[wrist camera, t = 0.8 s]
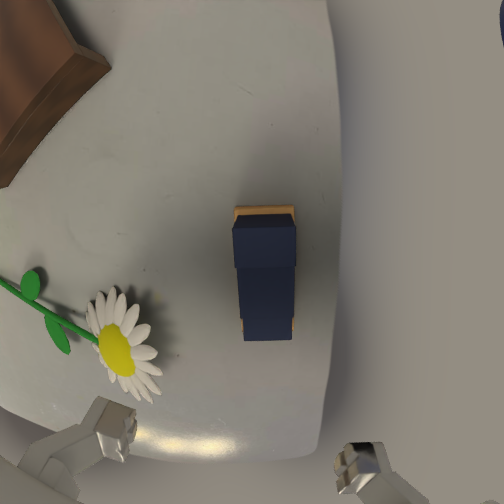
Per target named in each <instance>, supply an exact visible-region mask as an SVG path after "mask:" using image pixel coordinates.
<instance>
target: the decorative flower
mask: <svg viewBox="0 0 504 504" xmlns="http://www.w3.org/2000/svg"><path fill="white" fill-rule="evenodd" d="M0 285H2V286H3V287H4V288H6V289H7V290H9V291H10V292H11V293H13V294H14V295H16V296H17V297H19V298H20V299H22V300H23V301H25V302H26V303H28V304H29V305H31V306H32V307H34V308H35V309H37V310H38V311H40V312H42V313H43V314H45V317H44V318H45V324H46V328H47V330H48V332H49V334H50V336H51V338H52V340H53V341H54V343H55V344H56V346H57V347H58V348H59V349H60V350H61V351H62V352H63V353H65V354H68V355H69V353H70V351H71V350H70V345H69V341H68V339H67V337H66V334H65V332H64V331H63V329H62V327H61V326H60V324H61V325H63V326H65V327H67V328H68V329H70V330H72V331H74V332H75V333H77V334H79V335H81V336H83V337H85V338H86V339H88V340H90V341H92V346H93V348H94V349H95V350H96V351H97V352H98V353H99V358H100V361H101V363H102V364H103V365H104V366H105V367H108V375H109V379H110V381H111V382H113V383H114V382H115V380H116V375H117V378H118V381H119V383H120V386H121V387H122V389H123V391H124V392H126V393H128V388H129V390H130V392H131V393H132V394H133V396H134V397H135V398H136V399H137V400H139V401H140V400H141V398H140V395H139V392H140V393H141V395H142V396H143V397H144V398H145V399H146V400H147V401H148V402H150V403H152V404H153V399H152V397H151V394H150V392H149V390H148V389H147V387H148V388H149V389H150V390H151V391H152V392H154V393H156V394H157V395H162V393H161V390H160V388H159V387H158V385H157V384H156V382H155V381H154V380H153V379H152V377H151V376H150V375H149V374H152V375H155V376H161V375H163V373H162V371H161V370H160V369H159V368H158V367H156V366H155V365H154V364H152V363H151V362H149V361H147V360H151V359H153V358H155V357H156V356H157V354H158V352H157V351H156V350H155V349H154V348H153V347H151V346H149V345H144V344H140V343H142V342H143V341H144V340H145V339H146V338H147V337H148V335H149V333H150V331H151V326H149V325H148V324H140V325H138V326H136V327H134V326H135V324H136V322H137V320H138V317H139V310H140V308H139V304H134V305H133V306H132V307H131V308H130V309H128V311H127V303H126V297H125V295H124V293H122V294H120V295H119V297H118V299H117V295H116V289H115V287H114V286H113V287H112V288H111V289H110V291H109V294H108V296H107V301H106V299H105V297H104V295H103V293H102V292H100V291H99V292H98V294H97V297H96V302H95V303H96V311H95V308H94V306H93V304H92V303H91V302H88V312H87V311H86V312H85V313H86V319H87V322H88V325H89V332H88V331H86V330H84V329H82V328H80V327H78V326H76V325H75V324H73V323H71V322H69V321H67V320H66V319H64V318H62V317H60V316H59V315H57V314H55V313H54V312H52V311H50V310H48V309H47V308H45V307H43V306H42V305H40V304H39V303H37V302H35V301H34V300H35V299H37V297H38V294H39V292H40V280H39V277H38V274H36V273H35V272H34V271H28V272H26V273H25V274H24V275H23V277H22V280H21V283H20V286H21V292H20V291H18V290H17V289H15V288H14V287H12V286H11V285H9V284H8V283H7V282H5V281H4V280H2V279H1V278H0ZM126 311H127V313H126ZM59 323H60V324H59ZM148 373H149V374H148ZM146 386H147V387H146ZM138 391H139V392H138Z"/></svg>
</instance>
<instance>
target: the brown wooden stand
mask: <svg viewBox="0 0 504 504" xmlns="http://www.w3.org/2000/svg"><path fill="white" fill-rule="evenodd" d="M109 70H111V67H110V65H109V64H108V62H107V61H106V59H105V57H104V56H102V55H100V54H98V53H96V52H94V51H92V50H90V49H87V48H85V47H83V46H81V45H79V44H77V43H76V41H75V40H74V38H73V36H72V35H71V33H70V31H69V29H68V28H67V26H66V24H65V22H64V21H63V19H62V17H61V15H60V14H59V12H58V10H57V8H56V7H55V5H54V3H53V1H52V0H0V189H1V188H4V187H8V185H9V184H10V182H11V181H12V179H13V178H14V176H15V175H16V174H17V172H18V171H19V169H20V168H21V167H22V165H23V164H24V162H25V161H26V160H27V158H28V157H29V156H30V154H31V153H32V152H33V151H34V149H35V148H36V147H37V146H38V144H39V143H40V142H41V141H42V139H43V138H44V137H45V136H46V135H47V133H48V132H49V131H50V130H51V129H52V127H53V126H54V125H55V124H56V123H57V122H58V121H59V120H60V118H61V117H62V116H63V115H64V114H65V113H66V112H67V111H68V110H69V109H70V108H71V107H72V106H73V105H74V104H75V103H76V102H77V100H78V99H79V98H80V97H81V96H82V95H83V94H85V93H86V92H87V91H88V90H89V89H90V88H91V87H92V86H93V85H94V84H95V83H96V82H97V81H98V80H99V79H100V78H102V77H103V76H104V75H105V74H106V73H107V72H108V71H109Z"/></svg>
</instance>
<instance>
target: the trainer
mask: <svg viewBox="0 0 504 504" xmlns="http://www.w3.org/2000/svg"><path fill="white" fill-rule="evenodd" d="M234 222H235V223H234V226H233V228H232V234H233V248H234V262H235V268H237V279H238V292H239V306H240V318H241V322H242V332H243V334H244V341H273V340H292V331H293V330H294V281H295V266H296V226H295V223H294V206H293V205H270V206H243V207H235V208H234Z"/></svg>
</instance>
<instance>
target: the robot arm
mask: <svg viewBox="0 0 504 504" xmlns="http://www.w3.org/2000/svg"><path fill="white" fill-rule="evenodd" d="M135 416H136V409H133V408H130V407H127V406H124V405H122V404H119V403H116V402H113V401H111V400H108V399H106V398H103V397H100V396H98V397H97V398H96V399H95V400H94V402H93V404H92V405H91V407H90V409H89V411H88V412H87V414H86V416H85V417H84V419H83V421H82V423H81V424H80V425H79V424H75V425H73V426H71V427H69V428H66V429H64V430H62V431H60V432H57V433H55V434H53V435H50V436H48V437H46V438H43V439H41V440H38V441H36V442H34V443H31V445H30V446H29V448H28V450H27V451H26V453H25V454H24V456H23V458H22V459H21V461H20V463H19V464H18V466H17V467H16V466H15V465H13V464H12V463H10V462H9V461H8V460H6V459H5V458H3V457H2V456H1V455H0V504H83V503H81V502H79V501H77V497H78V495H79V493H80V489H79V487H78V485H77V484H76V482H75V481H74V479H73V478H72V477H74V476H76V475H77V474H79V473H80V472H82V471H84V470H85V469H87V468H89V467H90V466H92V465H93V464H95V463H96V462H98V461H99V460H101V459H102V458H104V456H105V457H108V458H111V459H114V460H117V461H120V462H123V463H125V461H126V458H127V456H128V454H129V451H130V449H129V444H130V443H132V442H133V441H134V438H135V435H136V431H137V421H136V420H135ZM334 471H335V473H336V475H337V476H338V477H339V478H338V479H337V481H336V483H337V490H338V494H350V493H357V496H358V497H359V498H360V499H361V500H362V502H363V503H364V504H429V500H428V499H427V498H426V497H424V496H423V495H422V494H421V493H420V492H418V491H417V490H416V489H415V488H414V487H413V486H411V485H410V484H409V483H408V482H407V481H405V480H404V479H403V478H402V477H401V476H400V475H398V474H397V473H396V472H392V470H391V466H390V463H389V460H388V457H387V453H386V450H385V448H384V444H383V443H382V442H361V443H360V442H359V443H347V444H346V445H345V446H344V451H342V452H341V453H339V454H338V455H337V457H336V459H335V463H334ZM482 504H499V503H498V502H496V501H494V500H489V501H486V502H484V503H482Z"/></svg>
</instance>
